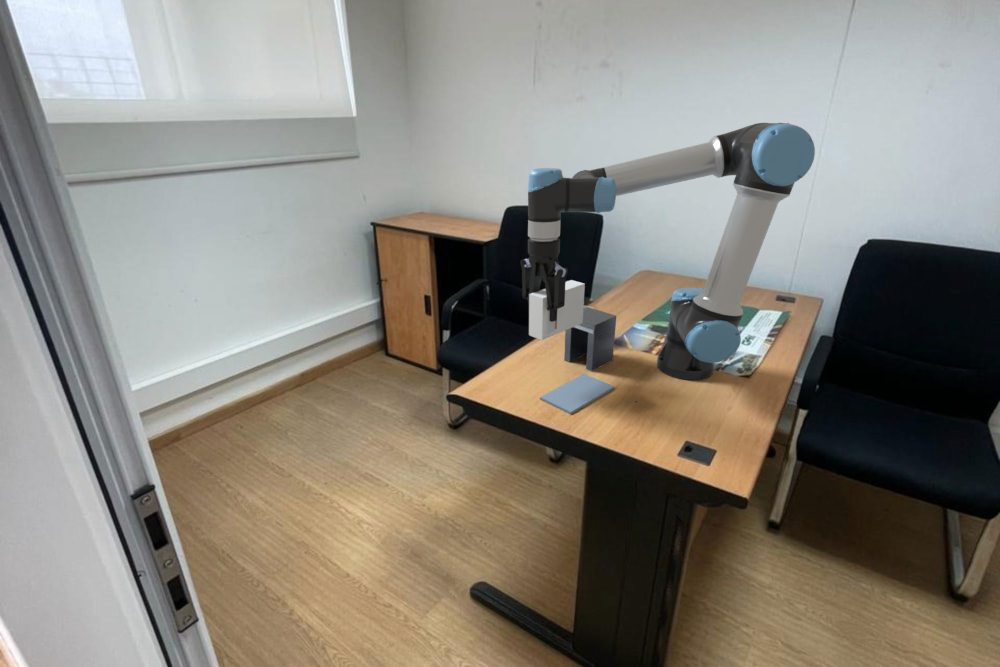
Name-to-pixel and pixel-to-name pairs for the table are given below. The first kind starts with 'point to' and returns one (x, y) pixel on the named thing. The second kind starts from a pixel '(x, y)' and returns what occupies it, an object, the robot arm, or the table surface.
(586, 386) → the mat
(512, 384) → the table surface
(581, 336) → the dispenser
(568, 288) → the white block
